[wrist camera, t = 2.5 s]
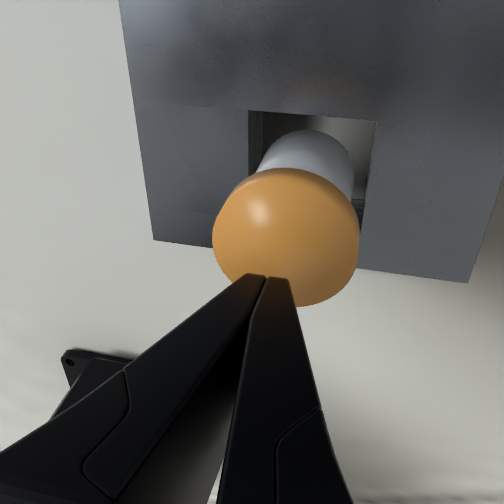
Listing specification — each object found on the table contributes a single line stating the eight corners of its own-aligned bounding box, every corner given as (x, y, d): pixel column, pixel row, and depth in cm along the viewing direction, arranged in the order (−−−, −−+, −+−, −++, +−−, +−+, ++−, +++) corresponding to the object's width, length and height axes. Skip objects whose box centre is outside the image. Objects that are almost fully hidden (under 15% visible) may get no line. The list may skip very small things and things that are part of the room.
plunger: (357, 229, 14) (348, 316, 11) (251, 216, 15) (215, 295, 12) (373, 124, 12) (367, 194, 9) (251, 114, 13) (208, 176, 10)
